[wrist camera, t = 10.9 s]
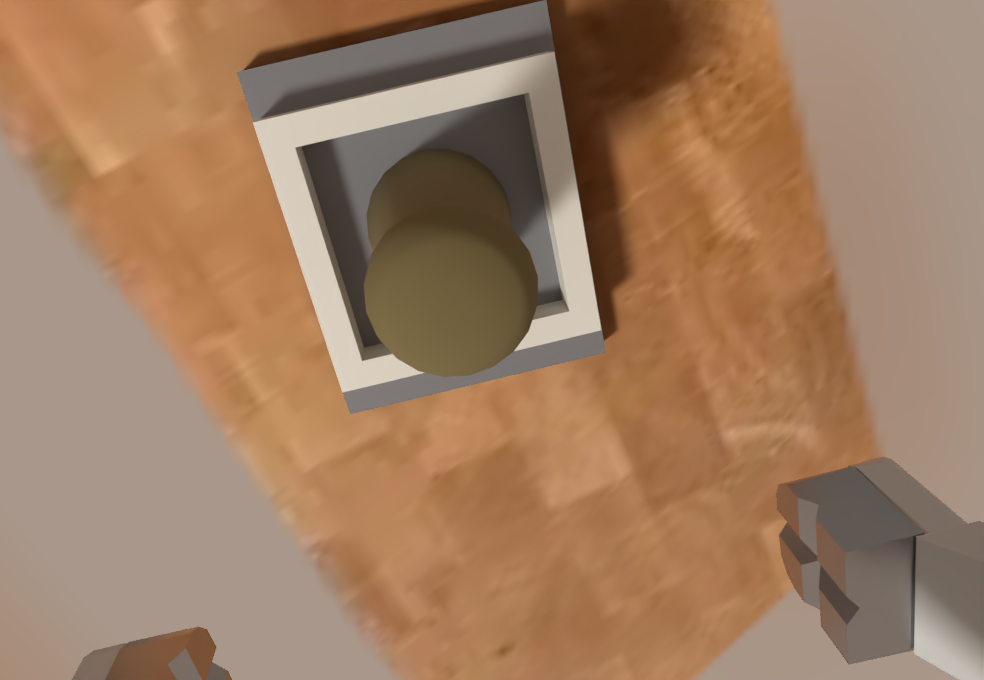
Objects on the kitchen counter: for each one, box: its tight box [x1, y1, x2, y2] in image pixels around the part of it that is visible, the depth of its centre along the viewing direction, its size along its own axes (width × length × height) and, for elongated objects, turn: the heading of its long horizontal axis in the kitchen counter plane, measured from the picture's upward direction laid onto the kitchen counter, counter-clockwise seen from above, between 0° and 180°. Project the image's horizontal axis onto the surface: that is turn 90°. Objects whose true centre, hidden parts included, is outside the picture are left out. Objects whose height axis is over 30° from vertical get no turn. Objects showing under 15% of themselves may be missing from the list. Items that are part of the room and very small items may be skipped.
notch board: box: [237, 0, 606, 414], centre depth 30 cm, size 15×12×2 cm
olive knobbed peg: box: [364, 149, 538, 377], centre depth 26 cm, size 6×6×11 cm
